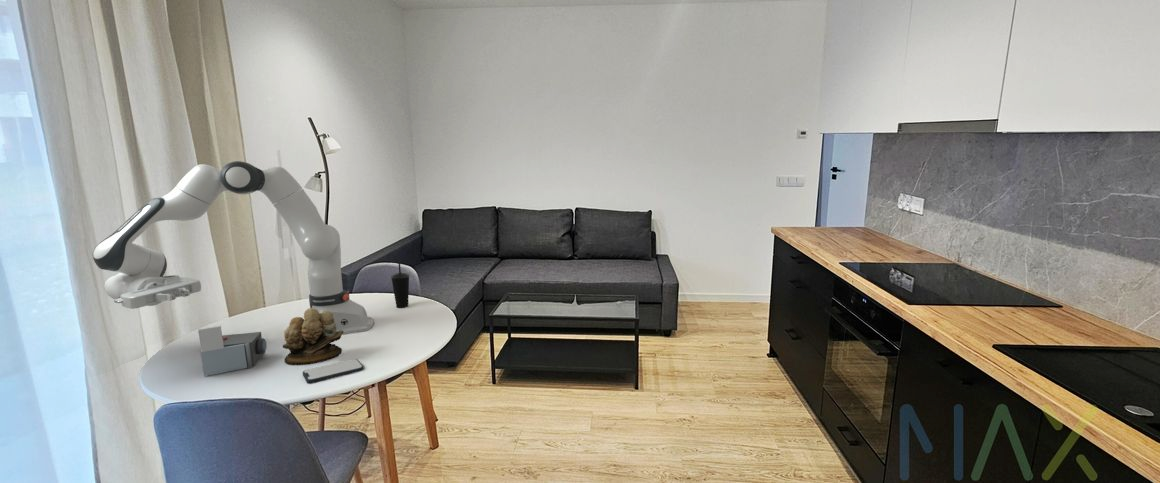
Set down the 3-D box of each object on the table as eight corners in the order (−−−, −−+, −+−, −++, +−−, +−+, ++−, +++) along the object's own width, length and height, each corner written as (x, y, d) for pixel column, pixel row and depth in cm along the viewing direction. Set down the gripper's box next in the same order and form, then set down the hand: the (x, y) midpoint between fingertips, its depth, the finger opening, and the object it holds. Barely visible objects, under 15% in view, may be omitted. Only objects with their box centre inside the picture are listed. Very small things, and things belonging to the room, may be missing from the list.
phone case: (357, 362, 167) (302, 375, 157) (356, 357, 167) (301, 370, 157) (365, 371, 160) (307, 385, 150) (364, 367, 160) (307, 380, 150)
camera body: (270, 353, 172) (267, 329, 171) (261, 365, 163) (258, 340, 162) (219, 359, 168) (215, 334, 167) (207, 371, 159) (203, 345, 158)
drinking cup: (405, 309, 217) (402, 263, 213) (389, 308, 218) (385, 262, 214) (415, 304, 224) (412, 259, 220) (399, 303, 226) (395, 258, 222)
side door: (252, 366, 163) (246, 321, 160) (252, 367, 162) (246, 322, 159) (204, 375, 156) (197, 328, 154) (204, 377, 155) (196, 330, 153)
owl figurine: (343, 345, 179) (339, 298, 176) (346, 358, 169) (342, 308, 166) (284, 355, 171) (278, 306, 168) (283, 369, 161) (277, 317, 157)
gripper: (108, 290, 151) (140, 295, 146) (181, 273, 170) (211, 277, 165) (112, 311, 152) (143, 316, 147) (184, 292, 171) (214, 296, 166)
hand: (180, 295), depth 156 cm, fingers open, 3 cm apart
